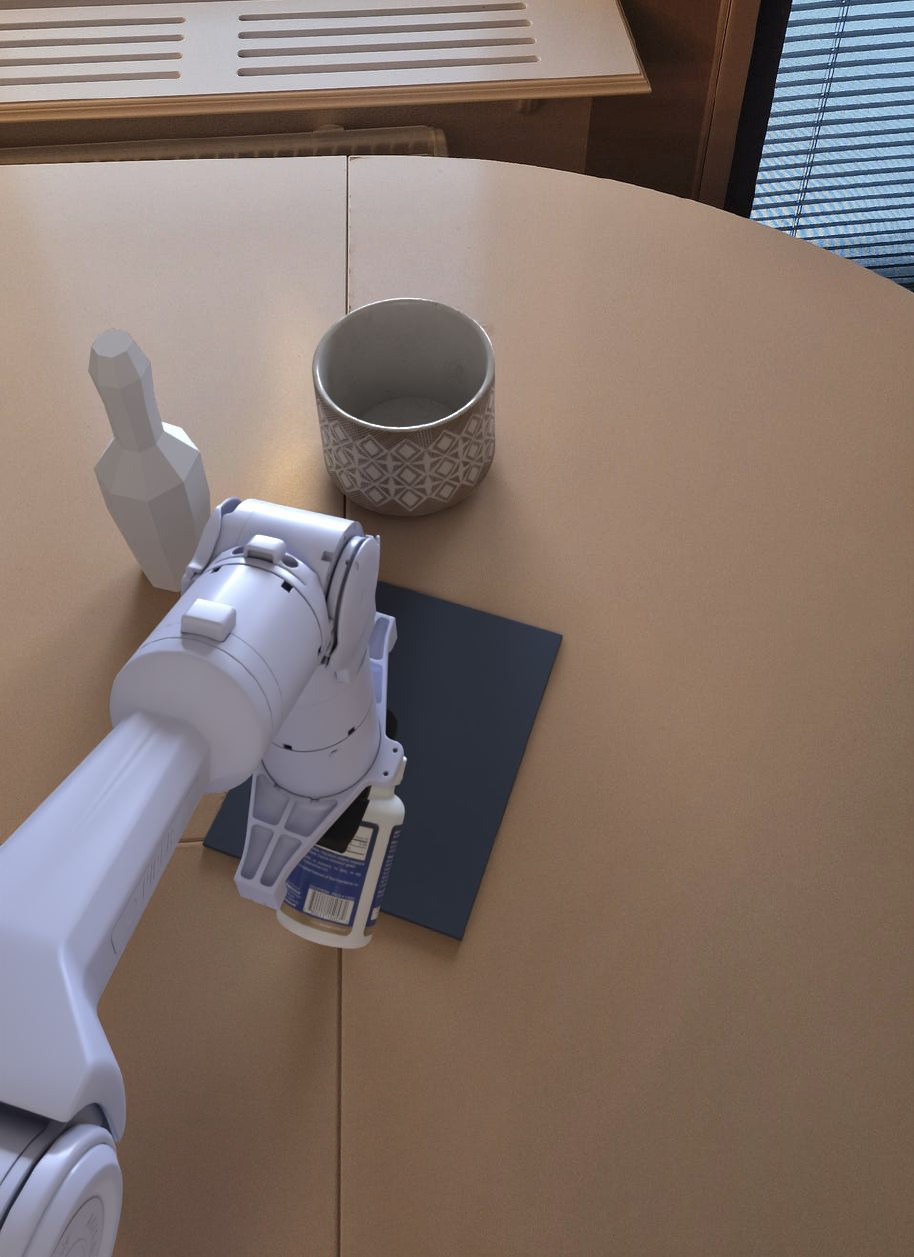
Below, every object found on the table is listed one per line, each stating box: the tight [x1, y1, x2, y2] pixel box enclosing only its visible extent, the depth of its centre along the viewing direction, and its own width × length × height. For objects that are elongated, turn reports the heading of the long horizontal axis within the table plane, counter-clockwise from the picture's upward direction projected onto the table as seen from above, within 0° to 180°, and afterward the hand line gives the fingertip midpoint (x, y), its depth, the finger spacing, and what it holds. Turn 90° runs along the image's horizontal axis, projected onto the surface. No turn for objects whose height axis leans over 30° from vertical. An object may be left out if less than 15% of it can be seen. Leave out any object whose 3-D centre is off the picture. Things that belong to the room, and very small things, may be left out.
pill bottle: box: [275, 757, 407, 950], centre depth 71 cm, size 5×5×10 cm
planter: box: [311, 297, 496, 517], centre depth 93 cm, size 13×13×10 cm
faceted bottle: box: [87, 327, 212, 593], centre depth 82 cm, size 6×6×22 cm
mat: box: [201, 579, 564, 942], centre depth 80 cm, size 20×16×1 cm
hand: (337, 821), depth 68 cm, fingers closed
